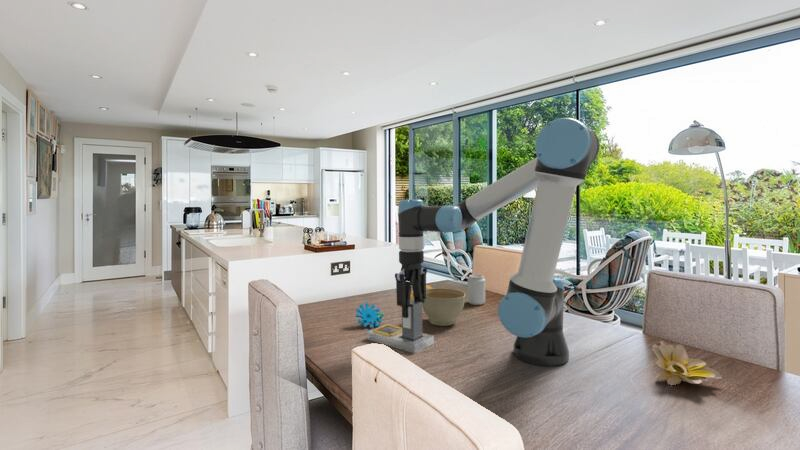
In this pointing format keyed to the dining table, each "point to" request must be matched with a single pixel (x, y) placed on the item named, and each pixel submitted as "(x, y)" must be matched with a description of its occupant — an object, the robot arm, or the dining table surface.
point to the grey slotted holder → (399, 338)
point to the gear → (369, 315)
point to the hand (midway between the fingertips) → (412, 325)
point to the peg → (414, 322)
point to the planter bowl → (443, 305)
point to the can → (476, 289)
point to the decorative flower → (681, 365)
